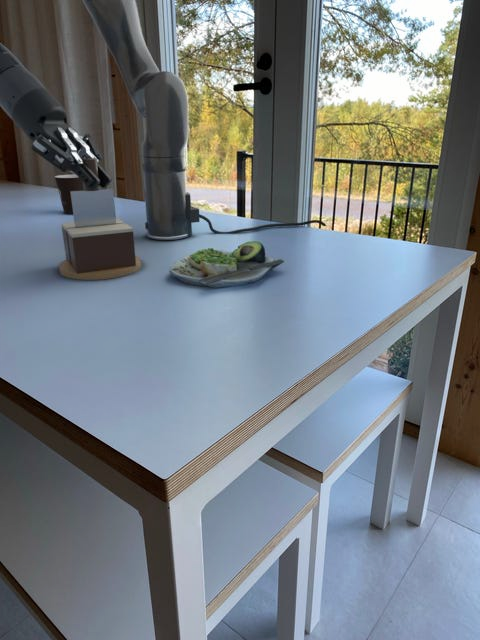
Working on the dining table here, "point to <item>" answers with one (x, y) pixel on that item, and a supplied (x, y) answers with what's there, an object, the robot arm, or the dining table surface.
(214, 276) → the salad plate
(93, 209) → the cake cutter
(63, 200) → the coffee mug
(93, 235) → the cake
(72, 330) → the dining table surface
